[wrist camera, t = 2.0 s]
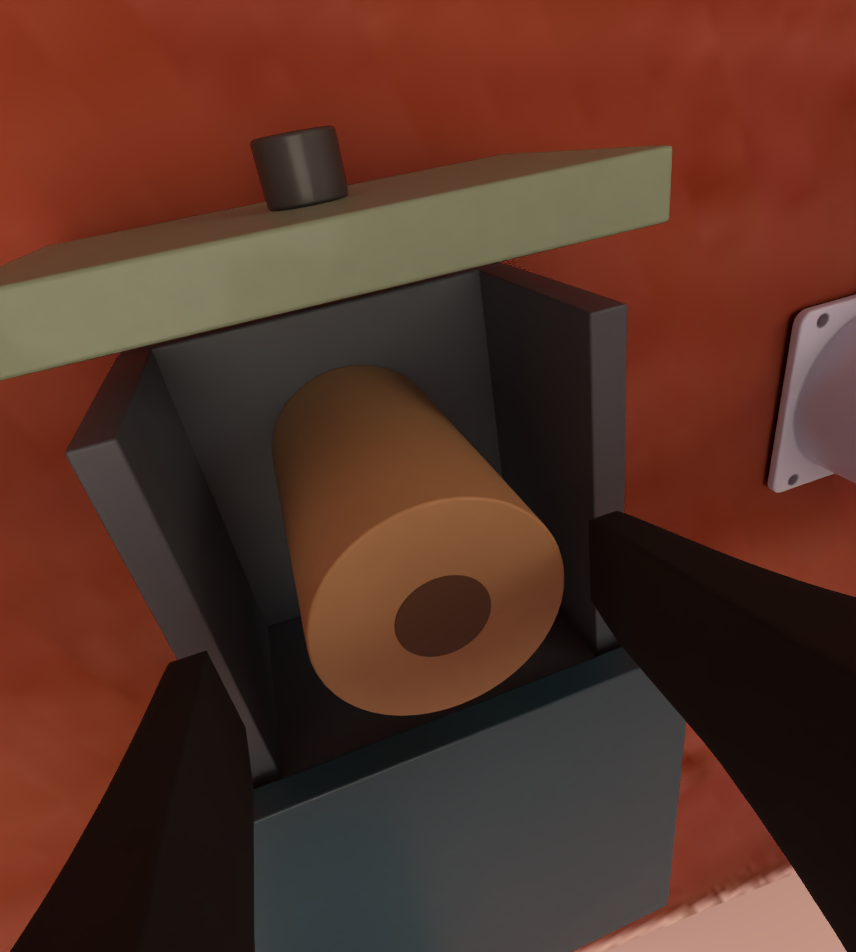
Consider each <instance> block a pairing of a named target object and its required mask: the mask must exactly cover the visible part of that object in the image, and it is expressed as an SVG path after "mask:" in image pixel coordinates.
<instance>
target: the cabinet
mask: <svg viewBox="0 0 856 952" xmlns="http://www.w3.org/2000/svg"><path fill="white" fill-rule="evenodd" d="M685 727H686V721H685V720H684V719H683V717H682V716H681V715H680V714H679V713H678V712H677V710H676V709H675V708H674V707H673V706H672V705H671V703H670V702H669V701H668V700H667V699H666V698H665V697H664V695H663V694H662V693H661V692H660V691H659V690H658V688H657V687H656V686H655V685H654V684H653V683H652V682H651V680H650V679H649V678H648V677H647V676H646V675H645V673H644V672H643V671H642V670H641V669H640V668H639V666H638V665H637V664H636V663H635V662H634V661H633V659H632V658H631V657H630V656H629V655H628V653H627V652H626V651H625V650H624V649H623V647H620V648H617V649H615V650H612V651H609V652H607V653H604V654H602V655H599V656H597V657H594V658H591V659H589V660H586V661H584V662H581V663H579V664H576V665H573V666H571V667H568V668H566V669H563V670H561V671H558V672H555V673H553V674H550V675H548V676H545V677H542V678H540V679H537V680H535V681H532V682H530V683H527V684H524V685H522V686H519V687H517V688H514V689H512V690H509V691H506V692H504V693H501V694H499V695H496V696H494V697H491V698H488V699H486V700H483V701H481V702H478V703H476V704H473V705H470V706H468V707H465V708H463V709H460V710H458V711H455V712H452V713H450V714H447V715H445V716H442V717H439V718H437V719H434V720H432V721H429V722H427V723H424V724H421V725H419V726H416V727H414V728H411V729H409V730H406V731H403V732H401V733H398V734H396V735H393V736H391V737H388V738H385V739H383V740H380V741H378V742H375V743H373V744H370V745H367V746H365V747H362V748H360V749H357V750H355V751H352V752H349V753H347V754H344V755H342V756H339V757H336V758H334V759H331V760H329V761H326V762H324V763H321V764H318V765H316V766H313V767H311V768H308V769H306V770H303V771H300V772H298V773H295V774H293V775H290V776H288V777H285V778H282V779H280V780H277V781H275V782H272V783H270V784H267V785H264V786H262V787H259V788H257V789H254V790H253V806H254V937H255V952H572V951H575V950H577V949H579V948H581V947H583V946H585V945H587V944H589V943H591V942H593V941H595V940H597V939H599V938H601V937H603V936H605V935H607V934H609V933H611V932H613V931H615V930H617V929H619V928H621V927H623V926H626V925H628V924H630V923H632V922H634V921H636V920H638V919H640V918H642V917H644V916H646V915H648V914H650V913H652V912H654V911H656V910H658V909H660V908H662V907H664V906H666V905H667V904H668V895H669V886H670V876H671V866H672V856H673V846H674V836H675V826H676V816H677V807H678V797H679V787H680V777H681V767H682V757H683V747H684V737H685Z"/></svg>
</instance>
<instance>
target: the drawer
mask: <svg viewBox="0 0 856 952" xmlns="http://www.w3.org/2000/svg"><path fill="white" fill-rule="evenodd" d="M250 146H251V150H252V153H253V157H254V160H255V164H256V168H257V171H258V175H259V179H260V182H261V186H262V189H263V193H264V197H265V200H266V202H262V203H257V204H252V205H247V206H242V207H237V208H232V209H227V210H223V211H218V212H213V213H208V214H203V215H198V216H193V217H188V218H183V219H178V220H173V221H168V222H163V223H158V224H153V225H148V226H143V227H138V228H133V229H128V230H123V231H118V232H113V233H108V234H103V235H98V236H93V237H88V238H83V239H78V240H73V241H68V242H63V243H58V244H53V245H48V246H45V247H43V248H41V249H39V250H36V251H34V252H32V253H29V254H27V255H25V256H23V257H20V258H18V259H16V260H14V261H11V262H9V263H7V264H4V265H2V266H0V381H1V380H5V379H10V378H14V377H18V376H22V375H26V374H30V373H35V372H39V371H43V370H47V369H51V368H56V367H60V366H64V365H68V364H72V363H77V362H81V361H85V360H89V359H93V358H98V357H102V356H106V355H110V354H114V353H119V352H121V353H120V354H119V356H118V357H117V358H116V360H115V362H114V364H113V366H112V367H111V369H110V371H109V373H108V375H107V376H106V378H105V380H104V382H103V384H102V386H101V387H100V389H99V391H98V393H97V395H96V396H95V398H94V400H93V402H92V404H91V406H90V407H89V409H88V411H87V413H86V415H85V417H84V418H83V420H82V422H81V424H80V426H79V427H78V429H77V431H76V433H75V435H74V437H73V438H72V440H71V442H70V444H69V446H68V447H67V449H66V451H65V455H66V457H67V459H68V461H69V462H70V464H71V466H72V468H73V470H74V472H75V473H76V475H77V477H78V479H79V481H80V483H81V484H82V486H83V488H84V490H85V492H86V494H87V495H88V497H89V499H90V501H91V503H92V505H93V506H94V508H95V510H96V512H97V514H98V516H99V517H100V519H101V521H102V523H103V525H104V526H105V528H106V530H107V532H108V534H109V536H110V537H111V539H112V541H113V543H114V545H115V547H116V548H117V550H118V552H119V554H120V556H121V558H122V559H123V561H124V563H125V565H126V567H127V569H128V570H129V572H130V574H131V576H132V578H133V580H134V581H135V583H136V585H137V587H138V589H139V590H140V592H141V594H142V596H143V598H144V600H145V601H146V603H147V605H148V607H149V609H150V611H151V612H152V614H153V616H154V618H155V620H156V622H157V623H158V625H159V627H160V629H161V631H162V633H163V634H164V636H165V638H166V640H167V642H168V644H169V645H170V647H171V649H172V651H173V653H174V654H175V656H176V658H177V660H179V659H182V658H185V657H188V656H191V655H194V654H197V653H200V652H203V651H206V650H207V652H208V654H209V656H210V658H211V660H212V662H213V664H214V666H215V668H216V670H217V672H218V674H219V676H220V678H221V680H222V682H223V684H224V686H225V688H226V690H227V692H228V694H229V696H230V698H231V700H232V702H233V703H234V705H235V707H236V709H237V711H238V713H239V715H240V717H241V719H242V721H243V723H244V725H245V727H246V733H247V741H248V748H249V755H250V763H251V772H252V780H253V790H254V789H257V788H259V787H262V786H264V785H267V784H270V783H272V782H275V781H277V780H280V779H282V778H285V777H288V776H290V775H293V774H295V773H298V772H300V771H303V770H306V769H308V768H311V767H313V766H316V765H318V764H321V763H324V762H326V761H329V760H331V759H334V758H336V757H339V756H342V755H344V754H347V753H349V752H352V751H355V750H357V749H360V748H362V747H365V746H367V745H370V744H373V743H375V742H378V741H380V740H383V739H385V738H388V737H391V736H393V735H396V734H398V733H401V732H403V731H406V730H409V729H411V728H414V727H416V726H419V725H421V724H424V723H427V722H429V721H432V720H434V719H437V718H439V717H442V716H445V715H447V714H450V713H452V712H455V711H458V710H460V709H463V708H465V707H468V706H470V705H473V704H476V703H478V702H481V701H483V700H486V699H488V698H491V697H494V696H496V695H499V694H501V693H504V692H506V691H509V690H512V689H514V688H517V687H519V686H522V685H524V684H527V683H530V682H532V681H535V680H537V679H540V678H542V677H545V676H548V675H550V674H553V673H555V672H558V671H561V670H563V669H566V668H568V667H571V666H573V665H576V664H579V663H581V662H584V661H586V660H589V659H591V658H594V657H597V656H599V655H602V654H604V653H607V652H609V651H612V650H615V649H617V648H620V647H622V646H621V645H620V644H619V642H618V641H617V640H616V638H615V637H614V635H613V634H612V632H611V631H610V629H609V628H608V626H607V625H606V623H605V622H604V620H603V619H602V617H601V616H600V614H599V612H598V611H597V609H596V608H595V606H594V605H593V603H592V601H591V594H590V557H589V520H590V519H593V518H596V517H599V516H602V515H605V514H608V513H611V512H614V511H620V512H622V513H624V489H625V412H626V335H627V305H626V304H625V303H622V302H619V301H616V300H613V299H610V298H607V297H604V296H601V295H598V294H595V293H592V292H589V291H586V290H583V289H580V288H576V287H573V286H570V285H567V284H564V283H561V282H558V281H555V280H552V279H549V278H546V277H543V276H540V275H537V274H534V273H531V272H528V271H525V270H522V269H519V268H516V267H513V266H510V265H507V264H502V263H499V262H501V261H505V260H509V259H513V258H517V257H522V256H526V255H530V254H534V253H538V252H543V251H547V250H551V249H555V248H559V247H564V246H568V245H572V244H576V243H580V242H585V241H589V240H593V239H597V238H601V237H606V236H610V235H614V234H618V233H622V232H627V231H631V230H635V229H639V228H643V227H648V226H652V225H656V224H660V223H664V222H666V221H668V219H669V209H670V188H671V166H672V147H671V146H668V145H660V146H642V147H624V148H605V149H587V150H569V151H551V152H533V153H515V154H501V155H496V156H491V157H486V158H481V159H476V160H471V161H466V162H461V163H456V164H451V165H446V166H441V167H436V168H431V169H426V170H421V171H416V172H412V173H407V174H402V175H397V176H392V177H387V178H382V179H377V180H372V181H367V182H362V183H357V184H352V185H347V182H346V177H345V173H344V168H343V163H342V158H341V154H340V149H339V144H338V139H337V134H336V130H335V128H334V126H322V127H315V128H309V129H303V130H298V131H292V132H287V133H281V134H276V135H271V136H267V137H262V138H258V139H254V140H252V141H251V144H250ZM352 365H372V366H378V367H383V368H387V369H390V370H392V371H395V372H397V373H399V374H401V375H403V376H405V377H406V378H408V379H409V380H411V381H412V382H413V383H415V384H416V385H417V386H418V387H419V388H420V389H421V390H422V391H423V392H424V393H425V395H426V396H427V397H428V398H429V399H430V400H431V401H432V402H433V403H434V404H435V406H436V407H437V408H438V409H439V410H440V411H441V412H442V413H443V414H444V415H445V416H446V418H447V419H448V420H449V421H450V422H451V423H452V424H453V425H454V426H455V427H456V429H457V430H458V431H459V432H460V433H461V434H462V435H463V436H464V437H465V438H466V439H467V441H468V442H469V443H470V444H471V445H472V446H473V447H474V448H475V449H476V450H477V452H478V453H479V454H480V455H481V456H482V457H483V458H484V459H485V460H486V461H487V462H488V464H489V465H490V466H491V467H492V468H493V469H494V470H495V471H496V472H497V473H498V475H499V476H500V477H501V478H502V479H503V480H504V481H505V482H506V483H507V484H508V485H509V487H510V488H511V489H512V490H513V491H514V492H515V493H516V494H517V495H518V496H519V497H520V499H521V500H522V501H523V502H524V503H525V504H526V505H527V506H528V507H529V508H530V510H531V511H532V512H533V513H534V514H535V515H536V516H537V517H538V518H539V519H540V520H541V522H542V523H543V524H544V525H545V526H546V527H547V529H548V530H549V531H550V533H551V534H552V535H553V537H554V539H555V541H556V543H557V545H558V547H559V550H560V553H561V557H562V560H563V567H564V590H563V596H562V601H561V604H560V607H559V611H558V614H557V616H556V618H555V620H554V623H553V625H552V627H551V629H550V630H549V632H548V634H547V635H546V637H545V639H544V640H543V641H542V643H541V644H540V646H539V647H538V648H537V650H536V651H535V652H534V653H533V654H532V655H531V657H530V658H529V659H528V660H527V661H526V662H525V663H524V664H523V665H522V666H521V667H520V668H519V669H518V670H517V671H515V672H514V673H513V674H512V675H510V676H509V677H508V678H507V679H505V680H504V681H503V682H501V683H500V684H498V685H497V686H495V687H494V688H492V689H491V690H489V691H487V692H485V693H484V694H482V695H480V696H478V697H476V698H474V699H472V700H469V701H467V702H465V703H463V704H460V705H457V706H454V707H451V708H448V709H445V710H441V711H436V712H432V713H426V714H419V715H404V716H399V715H385V714H379V713H374V712H370V711H367V710H363V709H360V708H358V707H355V706H353V705H351V704H349V703H347V702H345V701H344V700H342V699H341V698H339V697H338V696H336V695H335V694H334V693H333V692H332V691H331V690H330V689H329V688H328V687H327V686H325V684H324V683H323V682H322V680H321V679H320V678H319V676H318V675H317V674H316V672H315V670H314V668H313V666H312V664H311V661H310V658H309V654H308V651H307V646H306V641H305V635H304V630H303V624H302V619H301V613H300V608H299V602H298V597H297V591H296V586H295V580H294V575H293V569H292V564H291V558H290V552H289V547H288V541H287V536H286V530H285V525H284V519H283V514H282V508H281V503H280V497H279V492H278V486H277V481H276V475H275V470H274V464H273V457H272V440H273V434H274V429H275V426H276V424H277V421H278V418H279V416H280V414H281V412H282V410H283V409H284V407H285V406H286V404H287V403H288V401H289V400H290V399H291V398H292V397H293V395H294V394H295V393H296V392H297V391H298V390H299V389H301V388H302V387H303V386H304V385H305V384H306V383H308V382H309V381H311V380H313V379H314V378H316V377H317V376H319V375H322V374H324V373H326V372H328V371H331V370H334V369H337V368H341V367H346V366H352Z"/></svg>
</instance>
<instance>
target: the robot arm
mask: <svg viewBox="0 0 856 952" xmlns="http://www.w3.org/2000/svg"><path fill="white" fill-rule="evenodd" d="M818 318H819V319H818ZM834 473H835V474H837V475H839V476H841V477H843V478H845V479H847V480H849V481H851V482H853V483H855V484H856V294H855V295H852V296H848V297H845V298H841V299H838V300H834V301H831V302H827V303H823V304H820V305H816V306H813V307H809V308H806V309H804V310H802V311H801V312H800V313H799V314H798V315H797V316H796V318H795V319H794V322H793V326H792V332H791V339H790V345H789V351H788V357H787V364H786V370H785V376H784V382H783V389H782V395H781V401H780V407H779V414H778V420H777V426H776V432H775V439H774V445H773V451H772V457H771V464H770V470H769V476H768V488H769V489H771V490H772V491H774V492H777V493H780V492H783V491H786V490H789V489H792V488H795V487H797V486H800V485H803V484H806V483H809V482H812V481H814V480H817V479H820V478H823V477H826V476H829V475H831V474H834ZM589 557H590V594H591V601H592V603H593V605H594V606H595V608H596V609H597V611H598V612H599V614H600V616H601V617H602V619H603V620H604V622H605V623H606V625H607V626H608V628H609V629H610V631H611V632H612V634H613V635H614V637H615V638H616V640H617V641H618V642H619V644H620V645H621V646H622V647H623V649H624V650H625V651H626V652H627V653H628V655H629V656H630V657H631V658H632V659H633V661H634V662H635V663H636V664H637V665H638V666H639V668H640V669H641V670H642V671H643V672H644V673H645V675H646V676H647V677H648V678H649V679H650V680H651V682H652V683H653V684H654V685H655V686H656V687H657V688H658V690H659V691H660V692H661V693H662V694H663V695H664V697H665V698H666V699H667V700H668V701H669V702H670V703H671V705H672V706H673V707H674V708H675V709H676V710H677V712H678V713H679V714H680V715H681V716H682V717H683V719H684V720H685V721H686V722H687V723H688V724H689V725H690V727H691V728H692V729H693V730H694V731H695V732H696V734H697V735H698V736H699V737H700V738H701V739H702V741H703V742H704V743H705V744H706V746H707V747H708V748H709V749H710V751H711V752H712V753H713V754H714V756H715V757H716V758H717V759H718V761H719V762H720V763H721V765H722V766H723V767H724V769H725V770H726V772H727V773H728V774H729V776H730V777H731V779H732V780H733V781H734V783H735V784H736V786H737V787H738V788H739V790H740V791H741V793H742V794H743V795H744V797H745V798H746V800H747V801H748V802H749V804H750V805H751V807H752V808H753V809H754V811H755V812H756V814H757V815H758V817H759V818H760V820H761V821H762V823H763V824H764V825H765V827H766V828H767V830H768V831H769V833H770V834H771V836H772V837H773V839H774V840H775V842H776V843H777V845H778V846H779V847H780V849H781V850H782V852H783V853H784V855H785V856H786V858H787V859H788V861H789V862H790V864H791V865H792V867H793V868H794V870H795V871H796V873H797V874H798V876H799V877H800V879H801V880H802V882H803V883H804V885H805V887H806V888H807V890H808V891H809V892H810V894H811V896H812V897H813V899H814V901H815V902H816V903H817V905H818V906H819V908H820V910H821V911H822V913H823V914H824V916H825V918H826V919H827V921H828V922H829V924H830V925H831V927H832V928H833V930H834V931H835V933H836V934H837V936H838V938H839V939H840V941H841V943H842V944H843V946H844V948H845V949H846V951H847V952H856V597H853V596H849V595H846V594H842V593H838V592H835V591H831V590H828V589H824V588H821V587H818V586H815V585H811V584H808V583H805V582H802V581H799V580H796V579H793V578H790V577H787V576H784V575H781V574H778V573H776V572H773V571H770V570H767V569H764V568H761V567H758V566H755V565H753V564H750V563H747V562H745V561H742V560H739V559H737V558H734V557H732V556H729V555H726V554H724V553H721V552H719V551H716V550H714V549H711V548H709V547H706V546H704V545H701V544H699V543H696V542H694V541H691V540H689V539H686V538H684V537H682V536H679V535H677V534H674V533H672V532H670V531H667V530H665V529H662V528H660V527H658V526H655V525H653V524H650V523H648V522H645V521H643V520H641V519H638V518H636V517H633V516H630V515H628V514H625V513H622V512H620V511H614V512H611V513H608V514H605V515H602V516H599V517H596V518H593V519H590V520H589ZM10 952H255V937H254V806H253V780H252V772H251V763H250V755H249V748H248V741H247V733H246V727H245V725H244V723H243V721H242V719H241V717H240V715H239V713H238V711H237V709H236V707H235V705H234V703H233V702H232V700H231V698H230V696H229V694H228V692H227V690H226V688H225V686H224V684H223V682H222V680H221V678H220V676H219V674H218V672H217V670H216V668H215V666H214V664H213V662H212V660H211V658H210V656H209V654H208V652H207V650H206V651H203V652H200V653H197V654H194V655H191V656H188V657H185V658H182V659H179V660H176V661H173V662H171V663H169V665H168V666H167V668H166V670H165V671H164V674H163V676H162V678H161V680H160V682H159V684H158V686H157V689H156V691H155V693H154V695H153V697H152V699H151V701H150V704H149V706H148V708H147V710H146V712H145V714H144V716H143V718H142V721H141V723H140V725H139V727H138V729H137V731H136V733H135V735H134V737H133V739H132V741H131V743H130V745H129V747H128V749H127V751H126V753H125V755H124V757H123V759H122V761H121V763H120V765H119V767H118V769H117V771H116V773H115V775H114V777H113V779H112V781H111V783H110V785H109V787H108V789H107V791H106V792H105V794H104V796H103V798H102V800H101V802H100V804H99V805H98V807H97V809H96V811H95V813H94V814H93V816H92V818H91V820H90V821H89V823H88V825H87V827H86V829H85V830H84V832H83V834H82V836H81V837H80V839H79V841H78V843H77V845H76V846H75V848H74V850H73V852H72V853H71V855H70V857H69V859H68V860H67V862H66V864H65V865H64V867H63V869H62V870H61V872H60V874H59V875H58V877H57V879H56V880H55V882H54V884H53V885H52V887H51V889H50V890H49V892H48V893H47V895H46V897H45V898H44V900H43V901H42V903H41V905H40V906H39V908H38V909H37V911H36V913H35V914H34V916H33V917H32V919H31V920H30V922H29V923H28V925H27V926H26V928H25V930H24V931H23V933H22V934H21V936H20V937H19V939H18V940H17V942H16V943H15V945H14V946H13V948H12V949H11V951H10Z"/></svg>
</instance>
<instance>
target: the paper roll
mask: <svg viewBox="0 0 856 952" xmlns="http://www.w3.org/2000/svg"><path fill="white" fill-rule="evenodd" d="M272 457H273V464H274V470H275V475H276V481H277V486H278V492H279V497H280V503H281V508H282V514H283V519H284V525H285V530H286V536H287V541H288V547H289V552H290V558H291V564H292V569H293V575H294V580H295V586H296V591H297V597H298V602H299V608H300V613H301V619H302V624H303V630H304V635H305V641H306V646H307V651H308V654H309V658H310V661H311V664H312V666H313V668H314V670H315V672H316V674H317V675H318V676H319V678H320V679H321V680H322V682H323V683H324V684H325V686H327V687H328V688H329V689H330V690H331V691H332V692H333V693H334V694H335V695H336V696H338V697H339V698H341V699H342V700H344V701H345V702H347V703H349V704H351V705H353V706H355V707H358V708H360V709H363V710H367V711H370V712H374V713H379V714H385V715H399V716H404V715H419V714H426V713H432V712H436V711H441V710H445V709H448V708H451V707H454V706H457V705H460V704H463V703H465V702H467V701H469V700H472V699H474V698H476V697H478V696H480V695H482V694H484V693H485V692H487V691H489V690H491V689H492V688H494V687H495V686H497V685H498V684H500V683H501V682H503V681H504V680H505V679H507V678H508V677H509V676H510V675H512V674H513V673H514V672H515V671H517V670H518V669H519V668H520V667H521V666H522V665H523V664H524V663H525V662H526V661H527V660H528V659H529V658H530V657H531V655H532V654H533V653H534V652H535V651H536V650H537V648H538V647H539V646H540V644H541V643H542V641H543V640H544V639H545V637H546V635H547V634H548V632H549V630H550V629H551V627H552V625H553V623H554V620H555V618H556V616H557V614H558V611H559V607H560V604H561V601H562V596H563V590H564V567H563V560H562V557H561V553H560V550H559V547H558V545H557V543H556V541H555V539H554V537H553V535H552V534H551V533H550V531H549V530H548V529H547V527H546V526H545V525H544V524H543V523H542V522H541V520H540V519H539V518H538V517H537V516H536V515H535V514H534V513H533V512H532V511H531V510H530V508H529V507H528V506H527V505H526V504H525V503H524V502H523V501H522V500H521V499H520V497H519V496H518V495H517V494H516V493H515V492H514V491H513V490H512V489H511V488H510V487H509V485H508V484H507V483H506V482H505V481H504V480H503V479H502V478H501V477H500V476H499V475H498V473H497V472H496V471H495V470H494V469H493V468H492V467H491V466H490V465H489V464H488V462H487V461H486V460H485V459H484V458H483V457H482V456H481V455H480V454H479V453H478V452H477V450H476V449H475V448H474V447H473V446H472V445H471V444H470V443H469V442H468V441H467V439H466V438H465V437H464V436H463V435H462V434H461V433H460V432H459V431H458V430H457V429H456V427H455V426H454V425H453V424H452V423H451V422H450V421H449V420H448V419H447V418H446V416H445V415H444V414H443V413H442V412H441V411H440V410H439V409H438V408H437V407H436V406H435V404H434V403H433V402H432V401H431V400H430V399H429V398H428V397H427V396H426V395H425V393H424V392H423V391H422V390H421V389H420V388H419V387H418V386H417V385H416V384H415V383H413V382H412V381H411V380H409V379H408V378H406V377H405V376H403V375H401V374H399V373H397V372H395V371H392V370H390V369H387V368H383V367H378V366H372V365H352V366H346V367H341V368H337V369H334V370H331V371H328V372H326V373H324V374H322V375H319V376H317V377H316V378H314V379H313V380H311V381H309V382H308V383H306V384H305V385H304V386H303V387H302V388H301V389H299V390H298V391H297V392H296V393H295V394H294V395H293V397H292V398H291V399H290V400H289V401H288V403H287V404H286V406H285V407H284V409H283V410H282V412H281V414H280V416H279V418H278V421H277V424H276V426H275V429H274V434H273V440H272Z"/></svg>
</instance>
